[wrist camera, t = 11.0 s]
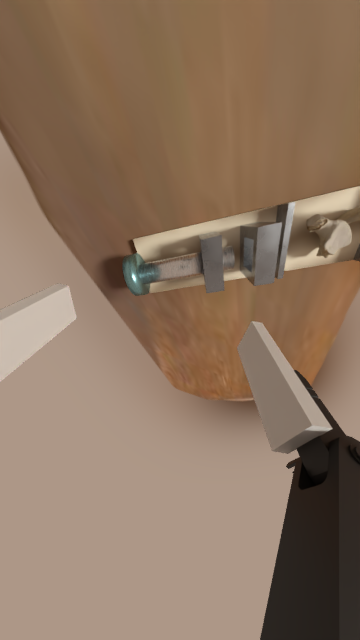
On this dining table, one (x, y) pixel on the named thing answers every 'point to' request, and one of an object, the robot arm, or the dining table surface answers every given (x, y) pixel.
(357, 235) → the board
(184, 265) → the shaft
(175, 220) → the dining table surface
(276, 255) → the grey angular blocks
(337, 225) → the bone
